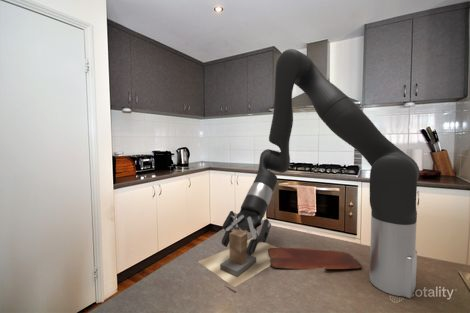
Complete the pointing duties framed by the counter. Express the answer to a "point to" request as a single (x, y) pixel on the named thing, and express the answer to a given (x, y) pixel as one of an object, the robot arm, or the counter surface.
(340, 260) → the wooden tablet
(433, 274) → the counter surface
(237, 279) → the birch board
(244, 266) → the block
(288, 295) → the counter surface
